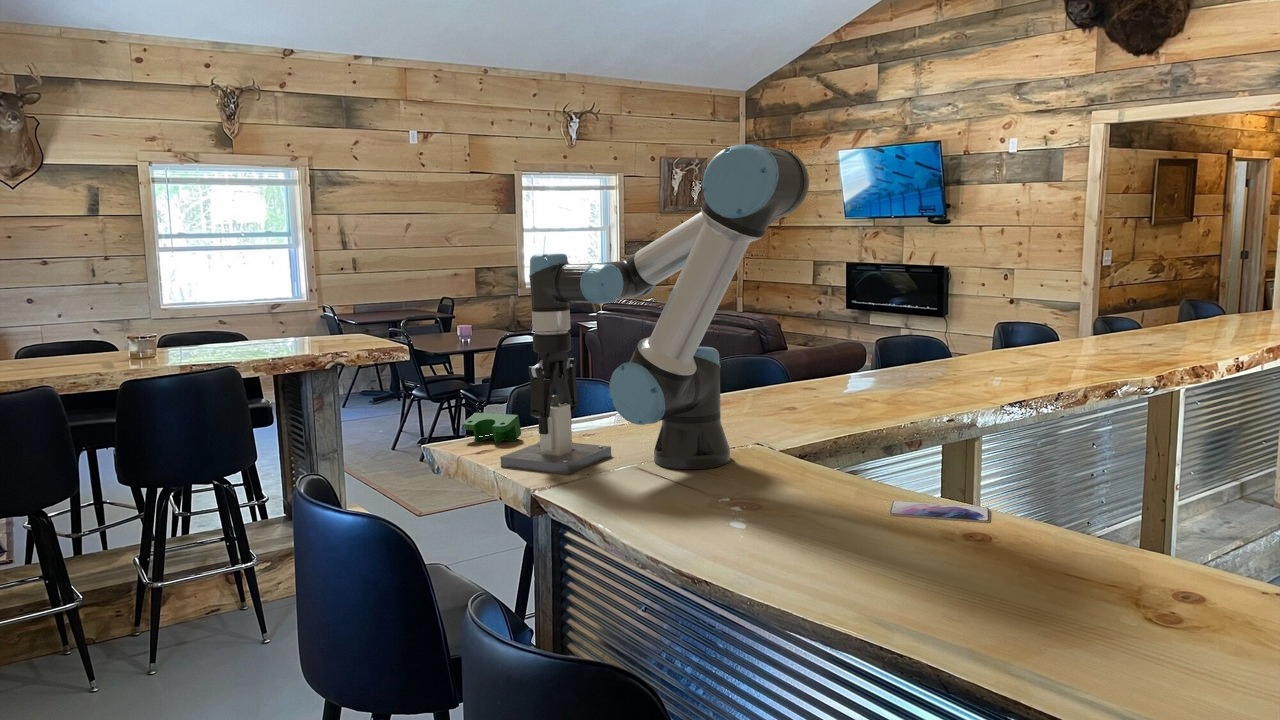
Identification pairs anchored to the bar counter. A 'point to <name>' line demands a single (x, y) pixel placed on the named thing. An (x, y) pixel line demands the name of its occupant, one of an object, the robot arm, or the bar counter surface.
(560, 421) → the plug
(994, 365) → the bar counter surface
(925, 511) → the smartphone
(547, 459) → the socket
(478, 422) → the clamp
